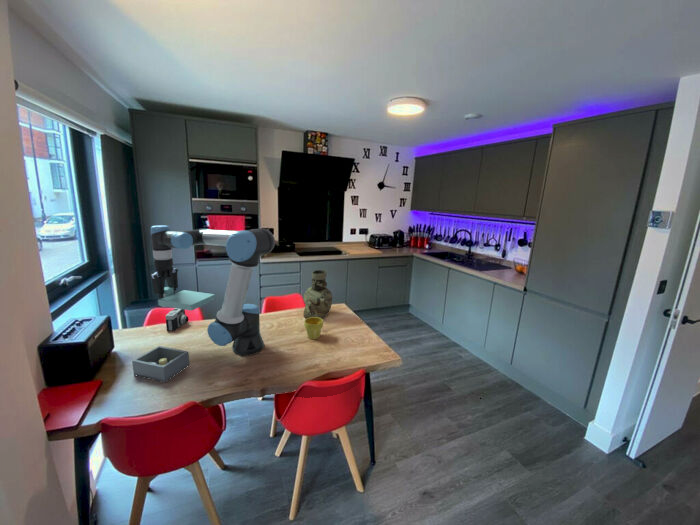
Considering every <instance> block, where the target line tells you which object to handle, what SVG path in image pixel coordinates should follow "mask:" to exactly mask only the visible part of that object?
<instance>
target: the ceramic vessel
mask: <svg viewBox="0 0 700 525" xmlns="http://www.w3.org/2000/svg"><path fill="white" fill-rule="evenodd" d="M327 273H328V272H327V271H326V270H325V269H324V270H323V269H322V270H321V269H316V270H313V271H311V285H312V286H310V287H308V288H307V289H306V290H305V292H304V295H303V302H304V303H305V306H304V310H303V313H302V314H303V318H304V319H305V320H306V319H307V318H310V317H318V318H321V319H322V320H324V319H325V318H326V317H327V316H328V315H329V312H330V311H331V309H332V305H333V293H332V291H331V290H329V288H327V286H328V283H327V281H326V279H327Z"/></svg>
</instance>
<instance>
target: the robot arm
mask: <svg viewBox="0 0 700 525" xmlns="http://www.w3.org/2000/svg"><path fill="white" fill-rule="evenodd" d="M150 238H151V239H150V240H151V248H152V257H153V266H154V267H155V271H154V273H151V274H150V275H149V276H150V278H151V281H152V287H153V294H154V295H158V300H159V299H162V298H164V297H166V294H164V287H166V286H165V284H166V283H167V287H171V288H174V294H175V293H176V292H175V291H177V289H178V288H179V281H178V280H179V279H178V271H179V269H178V268H175V267H173V266H174V260H173V259H174V258H173V250H172V248H173V249H178V250H187V249H189V248H190V247H193V246H199V245H200V246H201V245H204V246H205V245H206V246H221V247H225V250H226V253H227V256H228V260H229V262H230V263H231V267H230V271H229V276H228V280H227V285H226V288H225V293H224V298H223V301H222V307H221V309H220V310H218V311H217V312H216V316H215V319H214V321H212V322H210V324H208V326H207V335H208V337H209V339H210V340H211V341H212V342H213V343H214V344H216V345H217V346H221V347H223V346H224V347H225V346H227V345H228V344H229V345H230V344H232V345H231V346H232V348H231V349H232V353H233V354H235V355H236V356H237V355H238V356H242V357H243V356H244V357H245V356H251V355H255V354H257V353H260V352H261V351H262V350H263V349H264V347H265V344H264V343H265V341H264V339H263V337H262V335H261V330H260V320H261V319H260V307H259V306H258V305H257V304H252V303H245V302H246V298H247V294H248V291H249V285H250V282H251V279H252V278H251V277H252V275H253V270H254V268H256V267H258V265H259V263H260V260H261V256H265V255H268V254H269V253H271V252H272V250H274V248H275V245H276V240H275V236H274V235H273V233H272V232H271V231H270V230H269V229H266V228H252V229H246V230H245V229H243V230H226V229H210V228H197V229H190V230H180V231H177V230H176V231H174V230H173V231H172V230H171V228H170V226H169V225H165V224H164V225H162V224H160V225H156V224H155V225H152V226H151V227H150ZM165 282H166V283H165ZM160 307H161V308H162V307H164V308H167V307H166V306H160Z"/></svg>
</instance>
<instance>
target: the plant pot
mask: <svg viewBox="0 0 700 525" xmlns="http://www.w3.org/2000/svg"><path fill="white" fill-rule="evenodd" d="M303 326H304V328H305V331H306V334H307V338H308V339H310V340H317V339H319V338H320V336H321V332H322V328H323V327H324V319H321V318H318V317H310V318H307V319H306V318H305V319H304V324H303Z"/></svg>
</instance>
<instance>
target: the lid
mask: <svg viewBox="0 0 700 525" xmlns="http://www.w3.org/2000/svg"><path fill="white" fill-rule="evenodd" d="M164 294H166V297H164V298H162V299H159V298H158V299H157V304H158V306H160V307H161V306H166V307H165V308H172V309H175V308H178V309H184V310H187V311H194V310H196V309H198V308H200V307H203V306H204V305H206V304H209V303H211V302H213V301H215V300H216V294H214V293H210V292H209V293H208V292H207V293H206V292H200V291H194V290H186V289H183V290H181V291H178V292H175V294H174V288H171V287H168V286H164Z"/></svg>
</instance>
